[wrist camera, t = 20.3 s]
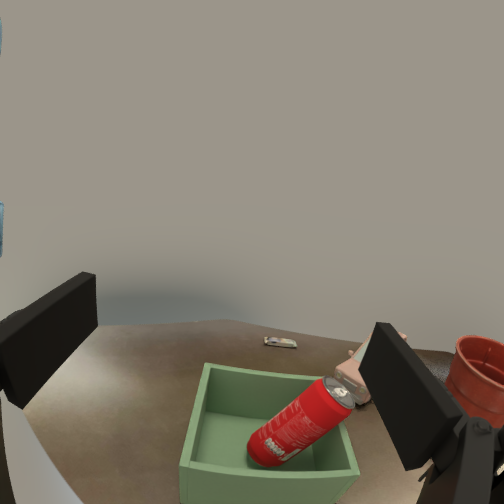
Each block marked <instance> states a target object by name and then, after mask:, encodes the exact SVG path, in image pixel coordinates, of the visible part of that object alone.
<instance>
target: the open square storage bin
mask: <svg viewBox="0 0 504 504" xmlns="http://www.w3.org/2000/svg"><path fill="white" fill-rule="evenodd" d="M321 378H323V377H315V376H302V375H291V374H281V373H272V372H263V371H256V370H248V369H241V368H235V367H228V366H222V365H216V364H211V363H205V365H204V369H203V372H202V376H201V380H200V384H199V388H198V392H197V395H196V399H195V403H194V407H193V411H192V415H191V419H190V423H189V427H188V431H187V435H186V439H185V443H184V447H183V451H182V455H181V459H180V463H179V490H180V503H181V504H335V503H336V502H337V500H338V499H339V498H340V497H341V496H342V495H343V494H344V493H345V492H346V491H347V490H348V489H349V487H350V486H351V485H352V484H353V483H354V482H355V481H356V479H357V478H358V477H359V476H360V471H359V468H358V464H357V461H356V458H355V455H354V452H353V448H352V445H351V442H350V439H349V436H348V433H347V430H346V427H345V424H344V421H342V422H340V423H339V424H338V425H337V426H335V427H334V428H333V429H331V430H330V431H329V432H328V433H326V434H325V435H324V436H322V437H321V438H320V439H318V440H317V441H316V442H314V443H313V444H311V445H310V446H309V447H307V448H306V449H304V450H303V451H301V452H300V453H298V454H297V455H296V456H294V457H293V458H291V459H289V460H288V461H286V462H285V463H283V464H282V465H280V466H273V467H270V468H266V467H262V466H260V465H258V464H257V463H256V462H254V461H253V460H252V458H251V457H250V456H249V454H248V451H247V442H248V441H249V439H250V437H251V435H252V434H253V433H254V432H255V431H256V430H258V429H259V428H260V427H262V426H263V425H264V424H265V423H267V422H268V421H269V420H270V419H272V418H273V417H274V416H275V415H277V414H278V413H279V412H280V411H281V410H283V409H284V408H285V407H286V406H287V405H289V404H290V403H291V402H292V401H293V400H295V399H296V398H297V397H298V396H299V395H300V394H301V393H303V392H304V391H305V390H306V389H307V388H308V387H309V386H310V385H311V384H312V383H314V382H315V381H316V380H317V379H321Z"/></svg>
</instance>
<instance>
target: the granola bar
mask: <svg viewBox="0 0 504 504" xmlns="http://www.w3.org/2000/svg"><path fill="white" fill-rule="evenodd" d="M264 339H265V343H267V344H268V345H275V346H284V347H297V345H296V342H295V341H293V340H289V339H281V338H272V337H268V338H264Z"/></svg>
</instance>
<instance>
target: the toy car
mask: <svg viewBox="0 0 504 504" xmlns="http://www.w3.org/2000/svg"><path fill="white" fill-rule="evenodd" d="M372 333H373V332H372ZM372 333H371V334H370V335H369V337H368V338H367V339H366V340H365V342H364V343H363V344H362V345H361V346H360V348H359V349H358V350H357V351H356V353H355V354H354V352H353V351H352V350H350V351H348V354H349V355H350V356H352V357H351V358H350V359H349V360H347V361H345V362H344V363H342V364H340V365H338V366H337V367H336V368H335V373H334V377H333V378H334V379H336V380H337V381H338V382H339V383H341V384H342V385H343V386H344V387H345V388H346V389H347V391H348V392H349V393H350V394H351V396H352V397H353V399H354V402H356V403H358V404H359V405H361V404H363V403H366V404H367V403H368V402H369V401H370V400H371V398H372V397H371V395H370V393H369V391H368V389H367V387H366V385H365V383H364V381H363V379H362V377H361V375H360V373H359V371H358V368H359V365H360V363H361V361H362V358H363V356H364V353H365V351H366V349H367V346H368V343H369V341H370V338H371V336H372ZM398 333H399V332H398ZM399 335H400V336H401V337H402V338H403V339H404V340H405V342H406V340H407V336H405V335H403V334H401V333H399Z"/></svg>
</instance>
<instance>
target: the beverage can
mask: <svg viewBox="0 0 504 504" xmlns="http://www.w3.org/2000/svg"><path fill="white" fill-rule="evenodd" d="M354 408H355V402H354V399H353V397H352V396H351V394H350V393H349V392H348V391H347V389H346V388H345V387H344V386H343V385H342V384H341V383H339V382H338V381H337V380H336V379H334V378H332V377H330V376H327V375H326V376H323V378H321V379H317V380H316V381H315V382H314V383H312V384H311V385H310V386H309V387H308V388H307V389H306V390H305V391H304V392H303V393H301V394H300V395H299V396H298V397H297V398H296V399H295V400H293V401H292V402H291V403H290V404H289V405H287V406H286V407H285V408H284V409H283V410H281V411H280V412H279V413H278V414H277V415H275V416H274V417H273V418H272V419H270V420H269V421H268V422H267V423H265V424H264V425H263V426H262V427H260V428H259V429H258V430H256V431H255V432H254V433H253V434H252V435H251V437H250V439H249V441H248V442H247V451H248V454H249V456H250V457H251V458H252V460H253V461H254V462H256V463H257V464H258V465H260V466H262V467H266V468H270V467H273V466H280V465H282V464H283V463H285V462H286V461H288V460H289V459H291V458H293V457H294V456H296V455H297V454H298V453H300V452H301V451H303V450H304V449H306V448H307V447H309V446H310V445H311V444H313V443H314V442H316V441H317V440H318V439H320V438H321V437H322V436H324V435H325V434H326V433H328V432H329V431H330V430H331V429H333V428H334V427H335V426H337V425H338V424H339V423H340V422H342V421H343V420H344V419H345V418H346V417H348V416H349V415H350V413H351V411H352V409H354Z"/></svg>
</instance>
